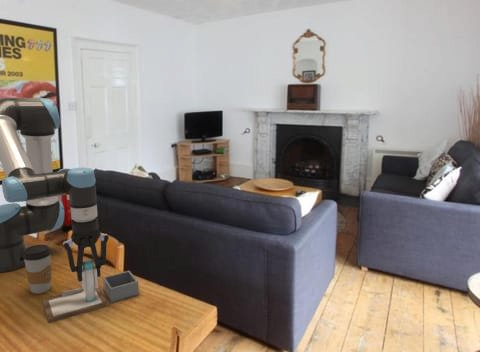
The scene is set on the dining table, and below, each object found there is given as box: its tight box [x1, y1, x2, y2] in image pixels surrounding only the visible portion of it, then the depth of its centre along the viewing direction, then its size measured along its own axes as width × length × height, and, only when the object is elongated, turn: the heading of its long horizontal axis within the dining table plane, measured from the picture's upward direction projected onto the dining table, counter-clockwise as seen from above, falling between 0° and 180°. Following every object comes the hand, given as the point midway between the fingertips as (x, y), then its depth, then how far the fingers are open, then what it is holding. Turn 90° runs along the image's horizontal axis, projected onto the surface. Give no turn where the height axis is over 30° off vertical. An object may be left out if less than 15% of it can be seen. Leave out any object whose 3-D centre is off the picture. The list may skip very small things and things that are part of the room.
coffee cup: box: [23, 244, 52, 295], centre depth 124 cm, size 8×8×15 cm
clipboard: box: [42, 286, 108, 324], centre depth 117 cm, size 13×17×2 cm
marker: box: [82, 259, 96, 302], centre depth 116 cm, size 3×3×13 cm
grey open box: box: [102, 270, 140, 304], centre depth 124 cm, size 9×9×5 cm
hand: (90, 287), depth 117 cm, fingers closed on marker, 3 cm apart
